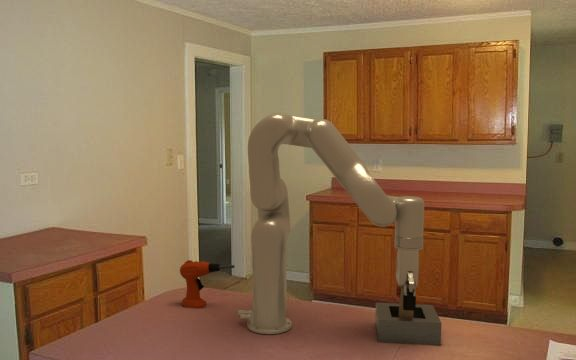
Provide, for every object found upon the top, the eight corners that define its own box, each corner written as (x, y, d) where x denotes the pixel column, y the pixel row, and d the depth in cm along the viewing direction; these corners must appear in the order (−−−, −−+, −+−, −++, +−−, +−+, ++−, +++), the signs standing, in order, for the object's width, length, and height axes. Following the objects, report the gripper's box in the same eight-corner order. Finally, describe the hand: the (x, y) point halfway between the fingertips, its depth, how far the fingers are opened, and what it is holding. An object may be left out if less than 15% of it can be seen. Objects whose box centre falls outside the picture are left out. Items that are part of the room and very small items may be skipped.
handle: (397, 337, 137) (399, 283, 135) (395, 328, 143) (396, 276, 142) (416, 338, 136) (417, 283, 135) (412, 329, 142) (414, 277, 141)
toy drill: (236, 307, 156) (230, 258, 155) (180, 309, 160) (174, 262, 159) (241, 301, 160) (235, 255, 159) (186, 304, 165) (180, 259, 164)
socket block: (378, 342, 133) (378, 319, 133) (375, 322, 147) (375, 302, 147) (440, 345, 132) (441, 322, 131) (432, 325, 145) (432, 305, 145)
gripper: (391, 235, 146) (390, 293, 148) (397, 248, 129) (395, 314, 131) (418, 236, 145) (416, 294, 147) (427, 249, 128) (425, 315, 130)
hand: (407, 303), depth 139 cm, fingers open, 9 cm apart
